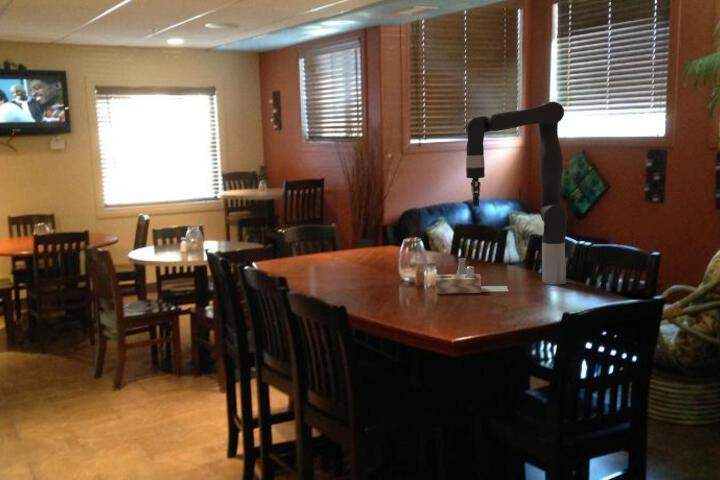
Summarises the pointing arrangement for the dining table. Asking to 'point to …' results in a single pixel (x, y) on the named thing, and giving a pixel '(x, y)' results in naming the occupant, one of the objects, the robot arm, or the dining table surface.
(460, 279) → the hole block
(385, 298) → the dining table surface
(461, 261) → the flask
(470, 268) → the peg
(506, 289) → the mat
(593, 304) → the dining table surface
